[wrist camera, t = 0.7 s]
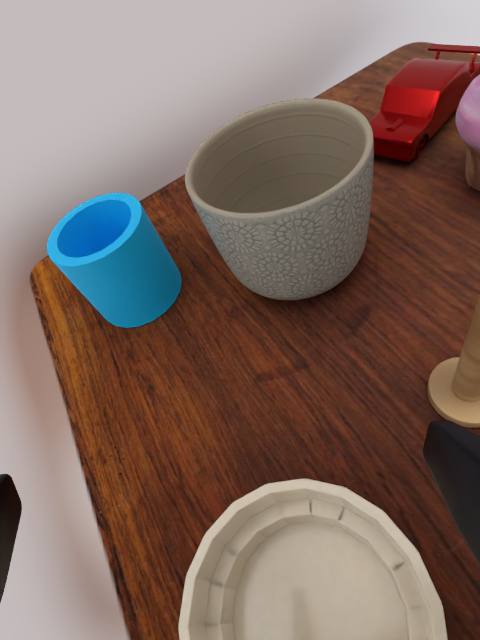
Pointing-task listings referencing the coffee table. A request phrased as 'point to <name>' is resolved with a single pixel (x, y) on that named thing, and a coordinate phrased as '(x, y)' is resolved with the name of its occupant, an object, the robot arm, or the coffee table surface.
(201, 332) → the coffee table surface
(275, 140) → the planter
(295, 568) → the bowl
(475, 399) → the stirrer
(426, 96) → the toy car
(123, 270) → the mug
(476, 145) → the cupcake
